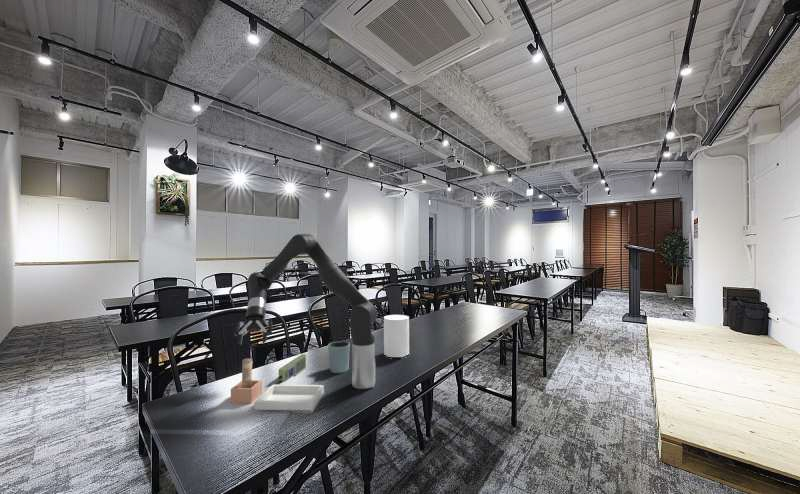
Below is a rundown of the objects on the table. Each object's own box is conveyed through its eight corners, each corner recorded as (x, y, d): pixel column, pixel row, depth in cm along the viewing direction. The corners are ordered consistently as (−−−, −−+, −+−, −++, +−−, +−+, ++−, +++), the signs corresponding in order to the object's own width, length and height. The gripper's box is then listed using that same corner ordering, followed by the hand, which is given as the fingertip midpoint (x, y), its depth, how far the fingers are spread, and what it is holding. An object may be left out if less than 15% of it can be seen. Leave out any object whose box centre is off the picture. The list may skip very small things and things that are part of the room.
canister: (382, 358, 156) (382, 319, 156) (385, 350, 169) (385, 314, 170) (409, 358, 155) (408, 319, 156) (409, 350, 169) (409, 314, 169)
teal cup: (343, 375, 135) (343, 348, 135) (323, 372, 138) (323, 345, 138) (353, 366, 144) (353, 341, 145) (335, 364, 148) (335, 339, 148)
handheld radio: (307, 368, 144) (276, 391, 119) (301, 368, 145) (269, 391, 120) (307, 354, 144) (276, 374, 120) (300, 353, 145) (268, 374, 120)
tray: (323, 394, 116) (323, 385, 116) (312, 413, 102) (312, 402, 102) (272, 393, 117) (272, 384, 117) (254, 412, 103) (254, 402, 103)
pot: (261, 396, 115) (262, 380, 115) (251, 406, 107) (251, 389, 108) (242, 395, 115) (242, 380, 115) (230, 405, 108) (230, 388, 108)
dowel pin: (253, 396, 113) (253, 358, 113) (248, 400, 110) (249, 361, 110) (244, 395, 113) (245, 358, 113) (240, 400, 110) (240, 361, 110)
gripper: (237, 305, 129) (230, 340, 118) (273, 304, 133) (270, 336, 122) (239, 316, 134) (233, 349, 123) (274, 313, 138) (271, 346, 127)
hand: (251, 343), depth 123 cm, fingers open, 8 cm apart
